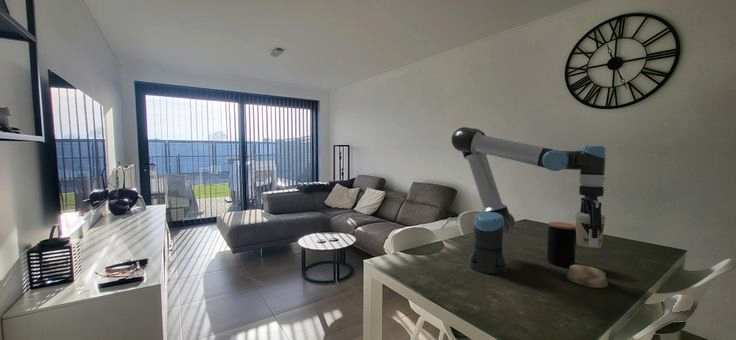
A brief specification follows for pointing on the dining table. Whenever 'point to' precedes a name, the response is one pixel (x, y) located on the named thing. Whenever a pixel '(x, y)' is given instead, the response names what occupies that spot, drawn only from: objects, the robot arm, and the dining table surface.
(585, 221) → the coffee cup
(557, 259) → the coffee jar
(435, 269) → the dining table surface
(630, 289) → the dining table surface
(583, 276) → the pedestal
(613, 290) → the dining table surface
